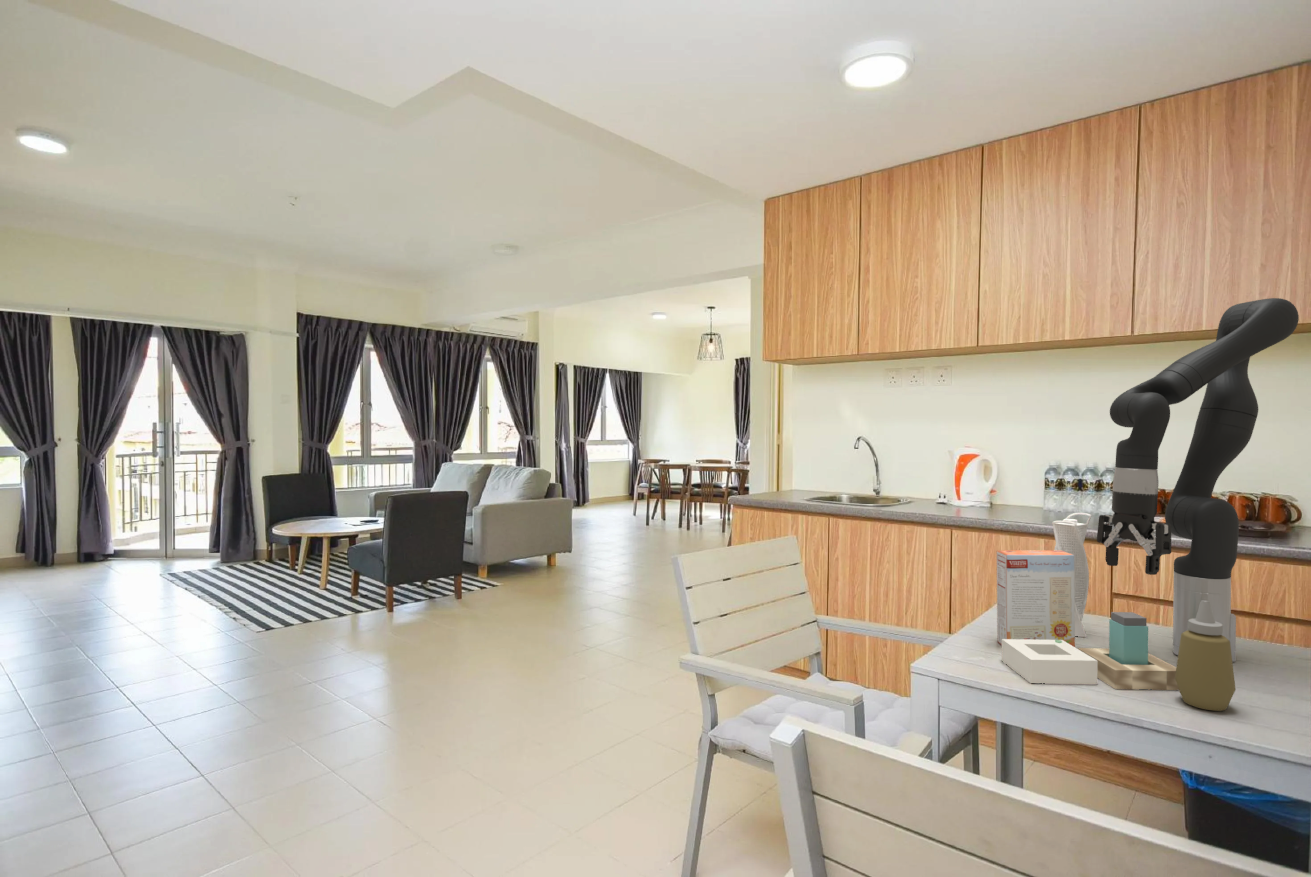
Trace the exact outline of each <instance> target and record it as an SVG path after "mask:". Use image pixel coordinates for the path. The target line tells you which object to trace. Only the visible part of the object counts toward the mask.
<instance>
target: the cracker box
mask: <svg viewBox="0 0 1311 877" xmlns="http://www.w3.org/2000/svg"><path fill="white" fill-rule="evenodd" d="M996 622H997V625H996V627H997V628H996V632H997V635H996V636H997V640H996V641H997V643H998V644H999V645H1001V646H1002V639H1034V640H1063V641H1065V642H1067V643H1068V644H1070V645H1072V646H1073V647H1075V648H1076V640H1075V639H1076V637H1075V588H1074V555H1072V554H1070V553H1067V552H1064V551H1062V550H1056V551H1054V549H1053V550H1052V549H1051V550H1050V549H1049V550H1047V549H1046V550H1042V549H1041V550H1038V549H1036V550H1034V549H1031V550H1030V549H1021V550H1019V549H1018V550H1017V549H1012V550H1011V549H1009V550H1008V549H1007V550H1005V549H1004V550H1002V549H998V550H996Z"/></svg>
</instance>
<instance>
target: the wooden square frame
mask: <svg viewBox="0 0 1311 877" xmlns="http://www.w3.org/2000/svg"><path fill="white" fill-rule="evenodd" d="M1077 649H1079V650H1080V651H1082V652H1084V653H1085V654H1087V655H1089V656H1090V657H1092V658H1094V659H1095V660H1097V661H1098V665H1097V680H1100V681H1102V682H1103V683H1105V684H1107V685H1108V686H1110V687H1111V688H1113V689H1115V690H1139V689H1148V691H1149V690H1150V689H1152V690H1153V691H1158V690H1159V691H1179V688H1178V685H1177V682H1176V680H1175V674H1176V667H1177V666H1174V665H1172V664H1171V663H1169V662H1166V661H1164V660H1163V659H1161V658H1159V657H1157V656H1155V655H1153V654H1152V653H1151V654H1150V653H1149V652H1148V665H1122V664H1120V663H1118V662H1117V661H1115V660H1113V659H1111V658H1110V657H1109V648H1106V647H1105V648H1102V647H1101V648H1100V647H1099V648H1098V647H1097V648H1094V647H1093V648H1091V647H1090V648H1089V647H1078V648H1077ZM1152 690H1151V691H1152Z"/></svg>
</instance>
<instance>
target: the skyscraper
mask: <svg viewBox="0 0 1311 877" xmlns="http://www.w3.org/2000/svg"><path fill="white" fill-rule="evenodd" d="M1079 515H1080V516H1081V515H1082V516H1087V517H1088V519H1087V520H1086V523H1082V522H1081V523H1080V522H1078V519H1074V518H1071V517H1073V516H1079ZM1091 518H1092V514H1090V513H1087V512H1074V513H1070V514H1069V515H1067V516H1066V517H1065V518H1064V519H1062V520H1054V521H1052V522H1051V523H1052V525H1051V526H1052V530H1053V536H1054V540H1055V546H1054V549H1053V551H1056V550H1062V551H1064V552H1067V553H1070V554H1072V555H1074V588H1075V636H1078V637H1077V638H1088V635H1087V632H1086V631H1085V630H1086V629H1085V628H1084V627H1085V626H1084V624H1083V622H1082V621H1083V618H1084V614H1085V611H1086V610H1085V609H1086V605H1087V600H1088V596H1089V588H1090V587H1089V585H1090V571H1089V561H1088V556H1087V552H1086V550H1085V545H1084V544H1085V539H1086V535H1087V531H1088V527H1089V524H1090V521H1091Z"/></svg>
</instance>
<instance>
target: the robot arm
mask: <svg viewBox="0 0 1311 877" xmlns="http://www.w3.org/2000/svg"><path fill="white" fill-rule="evenodd" d="M1299 315H1300V314H1299V311H1298V308H1297V307H1296V306H1295V304H1294V303H1292V302H1291V301H1289V300H1288V299H1284V298H1279V297H1270V298H1262V299H1257V300H1252V301H1246V302H1242V303H1236V304H1234V305H1232V306H1230V307H1228V308H1227V309H1226V310H1225V311H1224V313H1222V316H1221V318H1220V321H1219V323H1218V327H1217V331H1216V332H1217V333H1216V338H1215V341H1213V342H1211V343H1209V344H1206V345H1205V346H1202V347H1200V348H1198V349H1195V350H1193V351H1192V352H1190V353H1187V354H1186V355H1183V356H1181V357H1180V358H1179V359H1177V360H1176V361H1174V362H1172V363H1171V364H1169V365H1168V366H1167V367H1165V368H1164V369H1162V370H1161V371H1160V372H1158V374H1156V375H1155V376H1154V377H1152V378H1149V379H1148V380H1146V381H1143V382H1141V383H1139V384H1137V385H1135V386H1133V387H1131V388H1129V389H1127V390H1126V391H1124V392H1122V393H1121V394H1119V395H1118V396H1117V397H1116V398H1114V400H1113V401H1112V403H1111V405H1110V407H1109V416H1110V419H1111V420H1112V422H1113V423H1114V424H1116V425H1118V426H1120V427H1123V428H1132V430H1131V431H1130V432H1131V433H1130V435H1129V437H1128V438H1126V439H1122V440H1120V441H1118V443H1117V445H1116V448H1115V449H1116V450H1115V466H1114V467H1115V469H1114V474H1113V478H1112V499H1111V512H1113V515H1111V514H1100V515H1099V517H1098V522H1097V523H1098V525H1097V533H1096V542H1097V543H1101V544H1103V545H1104V547H1105V559H1104V560H1105V562H1106V565H1107V566H1109V567H1110V566H1112V567H1116V566H1118V565H1119V550H1120V548H1118V547H1119V545H1120V544H1121V543H1122V542H1123V541H1125V540H1130V541H1132V542H1138V545H1140V546H1141V547H1142V548H1143V549H1144V551H1145V554H1147V555H1145V569H1144V571H1145V574H1146V575H1149V576H1154V575H1157V574H1158V573H1159V572H1160V565H1161V562H1160V561H1161V556H1165V555H1171V553H1172V535H1174V536H1175V537H1179V538H1182V539H1186V540H1191V544H1190V550H1189V553H1187V554H1186V555H1182V556H1181V555H1180V556H1178V557H1176V558H1174V560H1173V603H1172V604H1173V608H1172V609H1173V612H1172V613H1173V614H1172V619H1173V620H1172V652H1173V654H1174V655H1176V656H1177V657H1178V653H1179V646H1180V638H1181V634H1182V633H1183V632H1185V631H1187V630H1189V629H1188V620H1189V619H1196V616H1197V613H1198V609H1199V606H1200V603H1201V600H1205V601H1210V604H1211V608H1212V612H1213V616H1214V620H1215V621H1216V622H1219V623H1221V624H1222V625H1223V634H1222V636H1225V637H1226V638H1227V639H1228V640H1229V641H1230V646H1231V655H1232V663H1233V662H1234V663H1235V662H1236V659H1237V658H1236V657H1237V656H1236V651H1237V648H1236V647H1237V646H1236V645H1237V644H1236V643H1237V640H1236V639H1237V638H1236V637H1237V633H1236V632H1237V616H1236V615H1235V614H1234V613H1231V611H1232V609H1231V607H1232V604H1231V603H1232V570H1233V568H1234V567H1235V564H1236V562H1237V558H1238V546H1239V544H1238V543H1239V534H1240V533H1239V532H1240V526H1239V525H1240V522H1239V516H1238V513H1237V510H1236V509H1235V507H1234V506H1233V505H1232V504H1231V503H1229V502H1228V501H1227V500H1223V499H1221V498H1216V497H1215V498H1213V496H1212V495H1213V491H1214V489H1215V486H1216V484H1217V481H1218V479H1219V477H1220V475H1221V474H1222V473H1223V472H1224V471H1225V469H1226V468H1227V467H1228V466H1229V465H1230V464H1231V463H1232V462H1233V461H1234V460H1235V459H1236V458H1237V457H1238V456H1239V455H1240V454H1241V453H1242V452H1243V451H1244V449H1245V448H1246V447H1247V446H1248V444H1249V442H1250V440H1251V438H1252V436H1253V433H1254V429H1255V425H1256V423H1257V422H1256V421H1257V419H1258V418H1257V417H1258V415H1259V404H1258V403H1259V402H1258V399H1257V396H1256V394H1255V392H1254V391H1255V390H1254V388H1253V387H1252V384H1251V381H1250V378H1249V374H1248V372H1249V364H1250V359H1251V358H1252V357H1253V356H1255V355H1256V354H1258V353H1260V352H1262V351H1264V350H1267V349H1268V348H1270V347H1272V346H1274V345H1277V344H1279V343H1280V342H1282V341H1284V340H1285V339H1287V338H1289V337H1290V336H1292V334H1293V333H1294V332H1295V330H1296V329H1297V327H1298V325H1299V320H1300V318H1299V317H1300V316H1299ZM1204 386H1206V388H1205V392H1204V396H1203V399H1202V403H1201V405H1200V408H1199V412H1198V414H1197V417H1196V422H1195V427H1194V430H1193V435H1192V438H1191V442H1190V444H1189V448H1188V450H1187V453H1186V457H1185V459H1184V463H1183V465H1182V468H1181V472H1180V475H1179V476H1178V479H1177V481H1176V483H1175V486H1174V488H1173V490H1172V493H1171V495H1170V497H1169V500H1168V503H1167V506H1166V509H1165V514H1164V522H1165V523H1156V521H1155V517H1156V516H1157V515H1158V501H1159V500H1158V499H1159V473H1158V469H1159V468H1158V467H1159V449H1160V446H1161V444H1162V442H1163V439H1164V436H1165V433H1166V431H1167V428H1168V426H1169V422H1170V419H1171V407H1170V406H1172V405H1176V404H1179V403H1182V402H1183V401H1185V400H1187V399H1188V398H1189V397H1191V396H1193V394H1195V393H1196V392H1198V391H1199V390H1201V389H1202V388H1203V387H1204ZM1113 527H1114V528H1113ZM1154 534H1155V535H1154Z"/></svg>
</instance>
